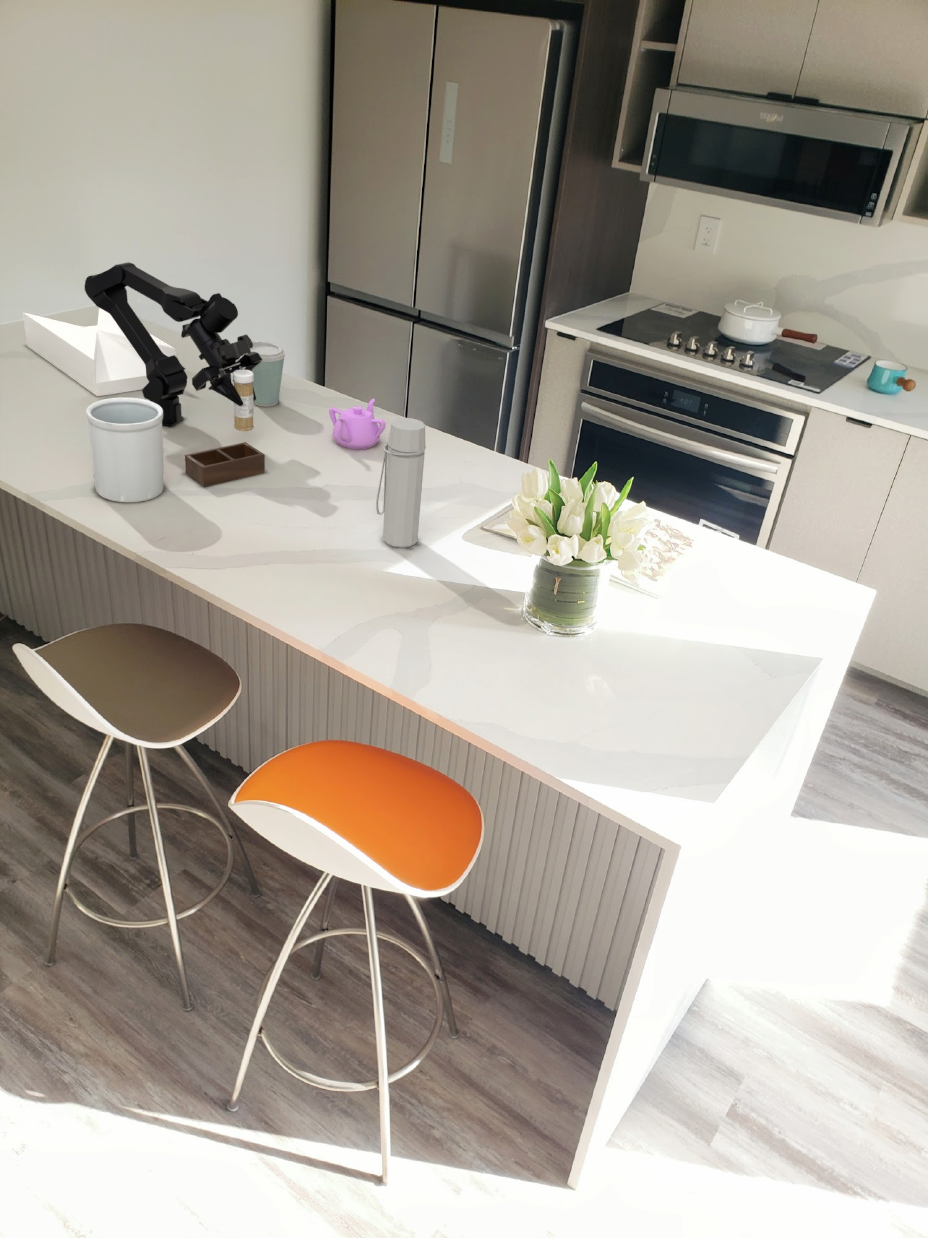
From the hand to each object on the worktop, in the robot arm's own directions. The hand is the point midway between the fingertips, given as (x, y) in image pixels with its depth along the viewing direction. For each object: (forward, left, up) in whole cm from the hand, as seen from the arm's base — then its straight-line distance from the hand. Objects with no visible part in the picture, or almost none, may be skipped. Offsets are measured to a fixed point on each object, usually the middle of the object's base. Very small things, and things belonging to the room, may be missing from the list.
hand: (248, 402), depth 231 cm
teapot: (+21, +16, -11) cm, 29 cm away
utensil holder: (-13, -31, -11) cm, 36 cm away
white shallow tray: (-59, +36, -11) cm, 70 cm away
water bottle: (+45, -30, -11) cm, 55 cm away
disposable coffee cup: (-9, +30, -11) cm, 33 cm away
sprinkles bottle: (-1, 0, -7) cm, 7 cm away
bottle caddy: (+1, -15, -11) cm, 19 cm away
